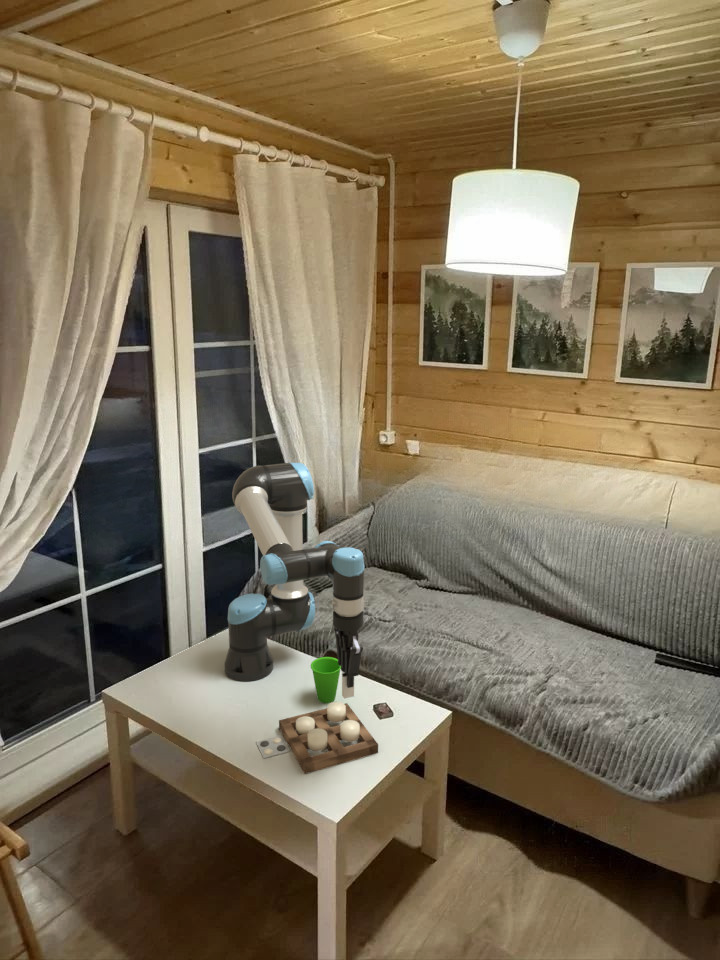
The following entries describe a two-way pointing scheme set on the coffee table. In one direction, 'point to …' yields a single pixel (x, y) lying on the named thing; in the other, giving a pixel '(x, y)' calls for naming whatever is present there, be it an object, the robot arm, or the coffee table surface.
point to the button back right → (304, 725)
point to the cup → (326, 678)
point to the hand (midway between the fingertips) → (348, 695)
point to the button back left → (336, 712)
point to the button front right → (317, 739)
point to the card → (272, 747)
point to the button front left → (349, 730)
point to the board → (334, 746)
